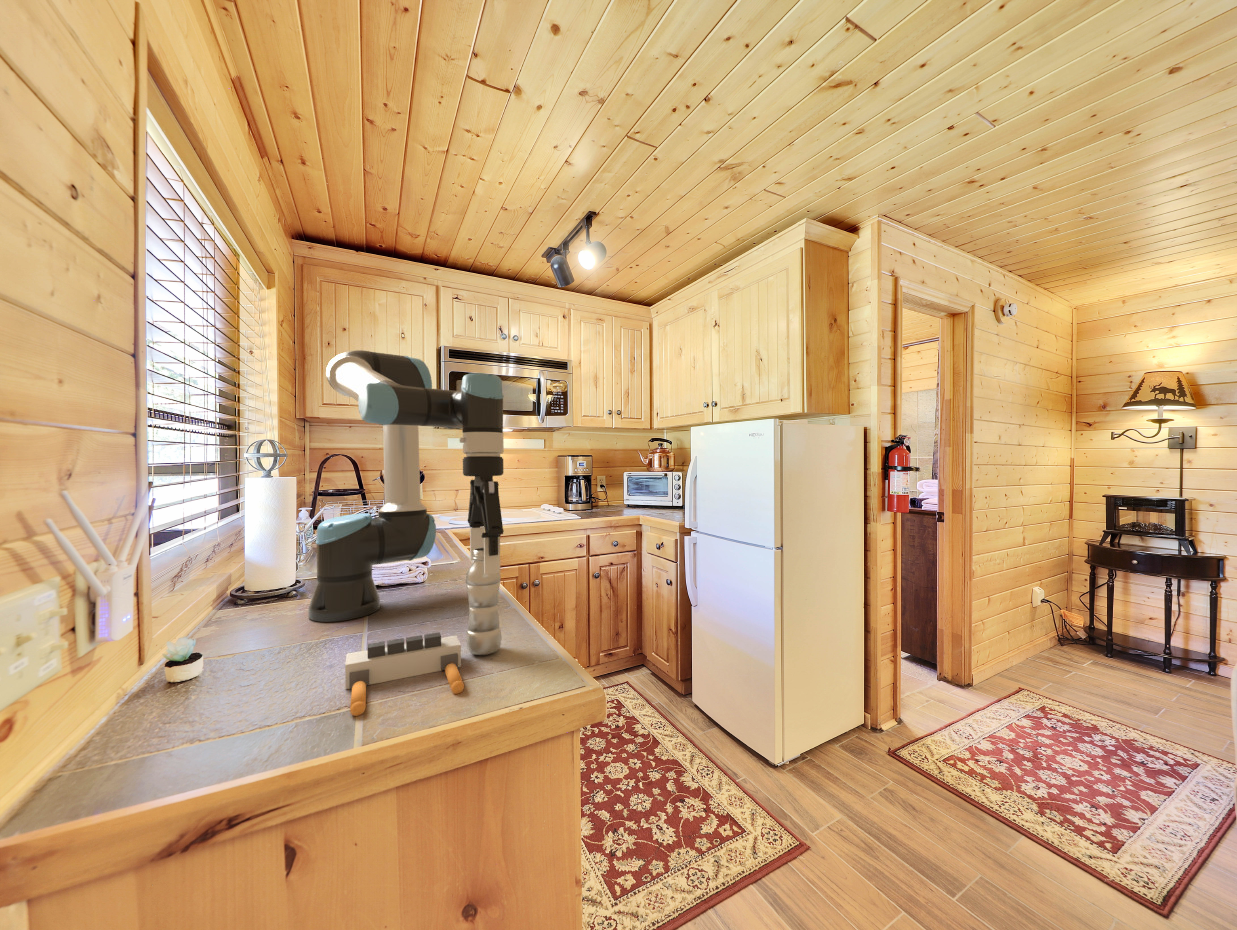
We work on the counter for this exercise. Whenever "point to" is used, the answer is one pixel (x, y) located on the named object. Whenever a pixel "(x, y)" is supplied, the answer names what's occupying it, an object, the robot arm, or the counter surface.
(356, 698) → the cord
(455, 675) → the cord
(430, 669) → the breaker strip
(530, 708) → the counter surface
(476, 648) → the plastic bottle
